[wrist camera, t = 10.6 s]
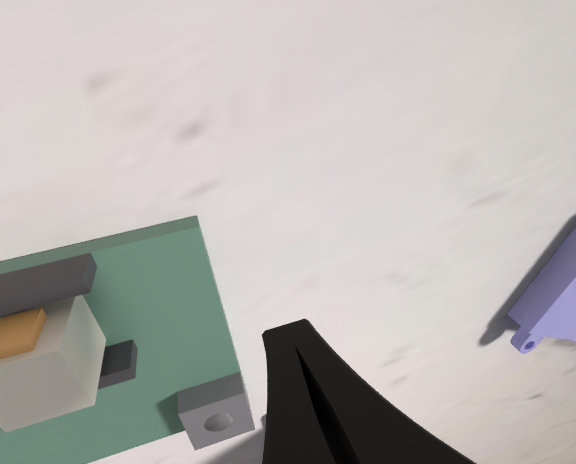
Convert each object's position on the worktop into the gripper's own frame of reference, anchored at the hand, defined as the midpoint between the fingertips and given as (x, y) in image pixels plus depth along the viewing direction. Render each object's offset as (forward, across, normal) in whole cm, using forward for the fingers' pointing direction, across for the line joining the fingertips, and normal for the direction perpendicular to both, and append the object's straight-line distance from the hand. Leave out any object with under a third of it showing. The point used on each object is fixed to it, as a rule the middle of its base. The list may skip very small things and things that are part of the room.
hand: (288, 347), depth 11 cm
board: (+10, +10, +8) cm, 16 cm away
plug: (+9, +10, +4) cm, 14 cm away
